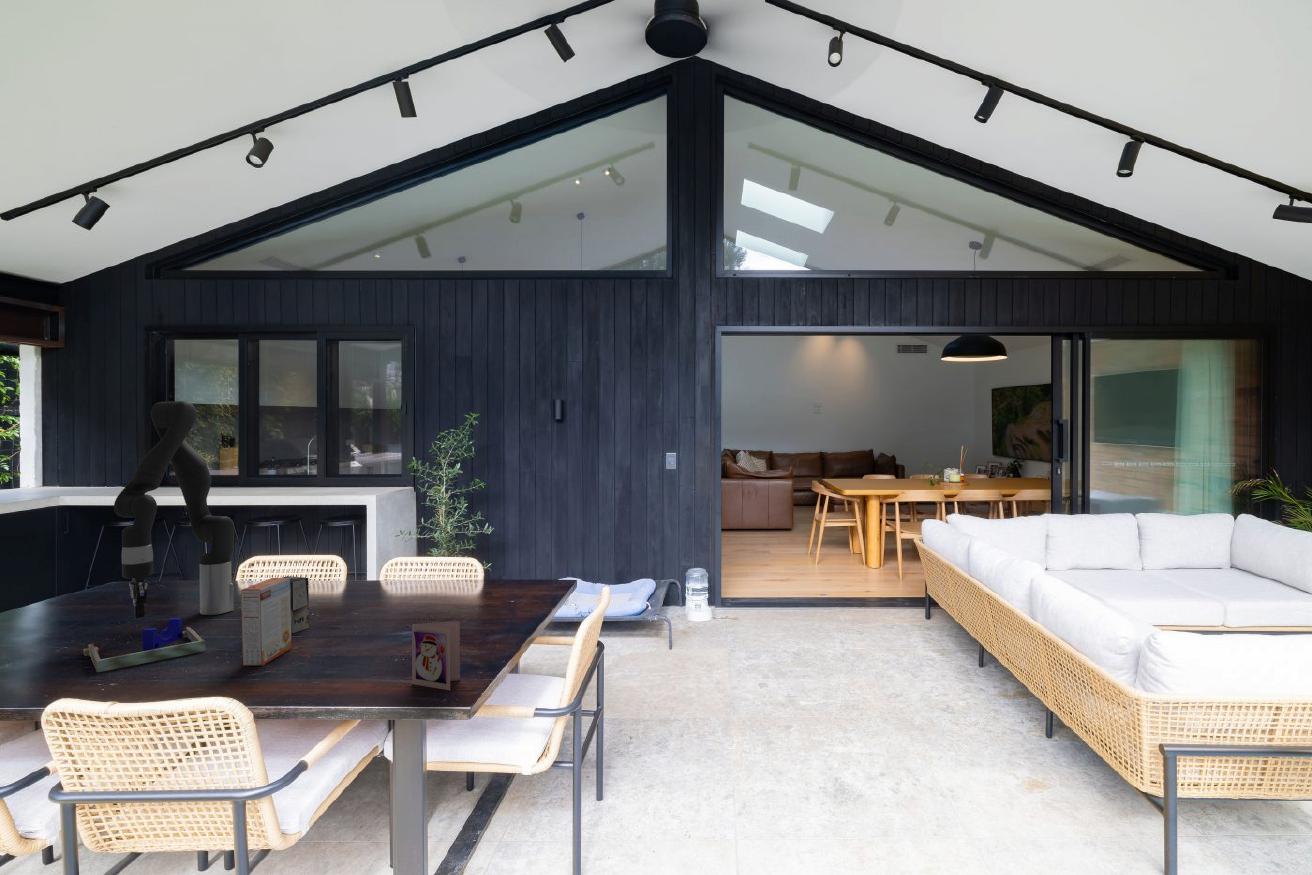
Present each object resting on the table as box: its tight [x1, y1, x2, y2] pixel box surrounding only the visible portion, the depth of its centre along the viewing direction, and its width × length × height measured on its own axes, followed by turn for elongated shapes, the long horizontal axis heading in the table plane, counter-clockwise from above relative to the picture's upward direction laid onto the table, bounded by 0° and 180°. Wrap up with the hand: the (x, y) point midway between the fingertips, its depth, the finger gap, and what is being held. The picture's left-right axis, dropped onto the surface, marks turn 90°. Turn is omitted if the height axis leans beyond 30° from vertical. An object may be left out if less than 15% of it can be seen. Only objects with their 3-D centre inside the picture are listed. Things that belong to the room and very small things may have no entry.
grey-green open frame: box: [82, 626, 206, 673], centre depth 193 cm, size 26×22×3 cm
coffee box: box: [281, 575, 310, 634], centre depth 214 cm, size 9×6×16 cm
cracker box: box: [240, 577, 292, 667], centre depth 188 cm, size 14×6×21 cm, turn 178°
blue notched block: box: [142, 617, 183, 651], centre depth 200 cm, size 12×4×6 cm, turn 0°
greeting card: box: [411, 620, 461, 691], centre depth 169 cm, size 11×7×15 cm, turn 69°
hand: (139, 617), depth 204 cm, fingers closed
